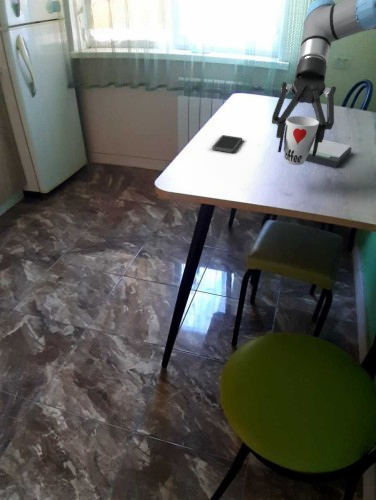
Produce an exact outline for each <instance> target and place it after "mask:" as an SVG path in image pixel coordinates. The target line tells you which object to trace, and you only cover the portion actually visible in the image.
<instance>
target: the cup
mask: <svg viewBox="0 0 376 500" xmlns="http://www.w3.org/2000/svg"><path fill="white" fill-rule="evenodd" d="M285 122H286V126H285V132H284V137H283V155H284V162H285V163H286V164H289V165H293V166H301V165H304V163H305V162H306V158H307V156H308V154H309V152H310V149H311V147H312V144H313V142H314V139H315V136H316V132H317V129H318V125H319V121H317V118H316V119H315V118H313V117H309V116H302V115H301V116H300V115H295V116H294V115H293V116H289V117H288V118H287V120H286V121H285Z"/></svg>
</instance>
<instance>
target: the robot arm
mask: <svg viewBox="0 0 376 500" xmlns="http://www.w3.org/2000/svg"><path fill="white" fill-rule="evenodd" d="M370 30H376V0H342V1H340V2H337V3H335V1H334V0H314V1H312V2H311V4H310V5H309V6H308V8H307V11H306V15H305V18H304V21H303V30H302V38H301V43H300V47H299V51H298V52H299V53H298V57H297V58H298V59H297V66H296V68H295V69H296V70H295V75H294V80H293V81H292V83H287V82H286V81H283V82H281V87H280V93H279V96H278V100H277V102H276V105H275V108H274V111H273V113H272V117H271V123H272V124H271V125H277V128H276V134H275V137H276V139H279V144H278V149H277V153H281V152H282V149H283V144H284V135H285V127H286V120H287V118H289V117H290V116H291V114H292V113H293V111H294V109H295V108H296V107H297V106H298V105H299V103H300V104H303V103H306V104H309V105H310V104H311V106H312V108H313V111H314V114H315V118H316V120H317V121H319V125H318V129H317V132H316V136H315V142H314V148H313V153H312V156H315V155H316V152H317V148H318V142H320V143H322V141H323V140H324V138H325V133H326V130H329V131H331V130H332V129H333V126H334V124H335V103H334V102H335V101H334V99H335V98H334V95H335V93H336V89H337V88H336V86H333V85H332V87H328V86H326V83H325V81H326V74H327V69H328V64H329V58H330V51H331V46H332V43H333V42H336V41H339V40H342V39H345V38H347V37H350V36H353V35H356V34H358V33H362V32H363V33H364V32H366V31H370ZM290 91H291V92H292V94H293V97H292V99H291V100H290V102H289V103H288V105H287V106H286V107H285V109H284V111H283V112H282V114H281V111H282V108H283V106H284V102H285V100H286V97H287V95H288V94H289V93H290ZM323 94H324V97H325V98H326V117H325V115H324V109H323V107H322V103H321V96H322V95H323ZM280 114H281V116H280Z"/></svg>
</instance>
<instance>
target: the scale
mask: <svg viewBox="0 0 376 500" xmlns="http://www.w3.org/2000/svg"><path fill="white" fill-rule="evenodd" d="M314 142H315V139H314ZM314 142H313V144H312V147H311V149H310V152H309V154H308V156H307V158H306V160H305V162H309V163H315V164H319V165H322V166H326V167H330V168H333V169H334V168H335V169H337V168H338V167H339V166H340V165H341V164H342V163H343V162H344V160H346V159H347V158H348V157H349V156H350V155H351V153H352V149H353V148H352V146H351V145H349V144H344V143H341V142H336V141H332V140H327V139H323V141H322V143H320V142H318V148H317V152H316V155H315V156H312V153H313V148H314Z"/></svg>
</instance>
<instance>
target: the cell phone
mask: <svg viewBox="0 0 376 500" xmlns="http://www.w3.org/2000/svg"><path fill="white" fill-rule="evenodd" d="M242 141H243V137H239V136H233V135H227V134H226V135H225V134H224V135H223V134H222V135H221V136H220V137H219V138H218V140H217V141H216V142H215V143H214V144H213V145H212V146H211V147H212V148H211V149H212V150H213V151H217V152H218V151H219V152H225V153H230V154H231V153H232V154H233V153H234V152H236V150H237V149H238V147H239V146H240V145H241V143H242Z"/></svg>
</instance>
